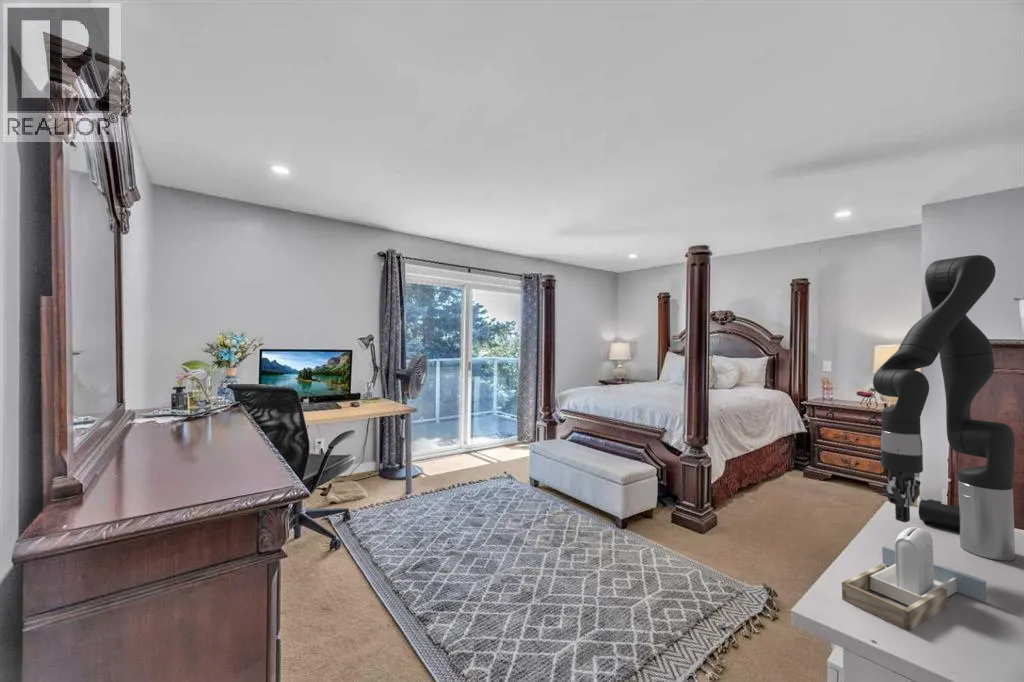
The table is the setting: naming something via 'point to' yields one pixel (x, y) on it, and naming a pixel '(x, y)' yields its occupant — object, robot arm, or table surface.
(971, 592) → the tray
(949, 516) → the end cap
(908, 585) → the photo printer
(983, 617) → the table surface
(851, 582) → the dock housing
